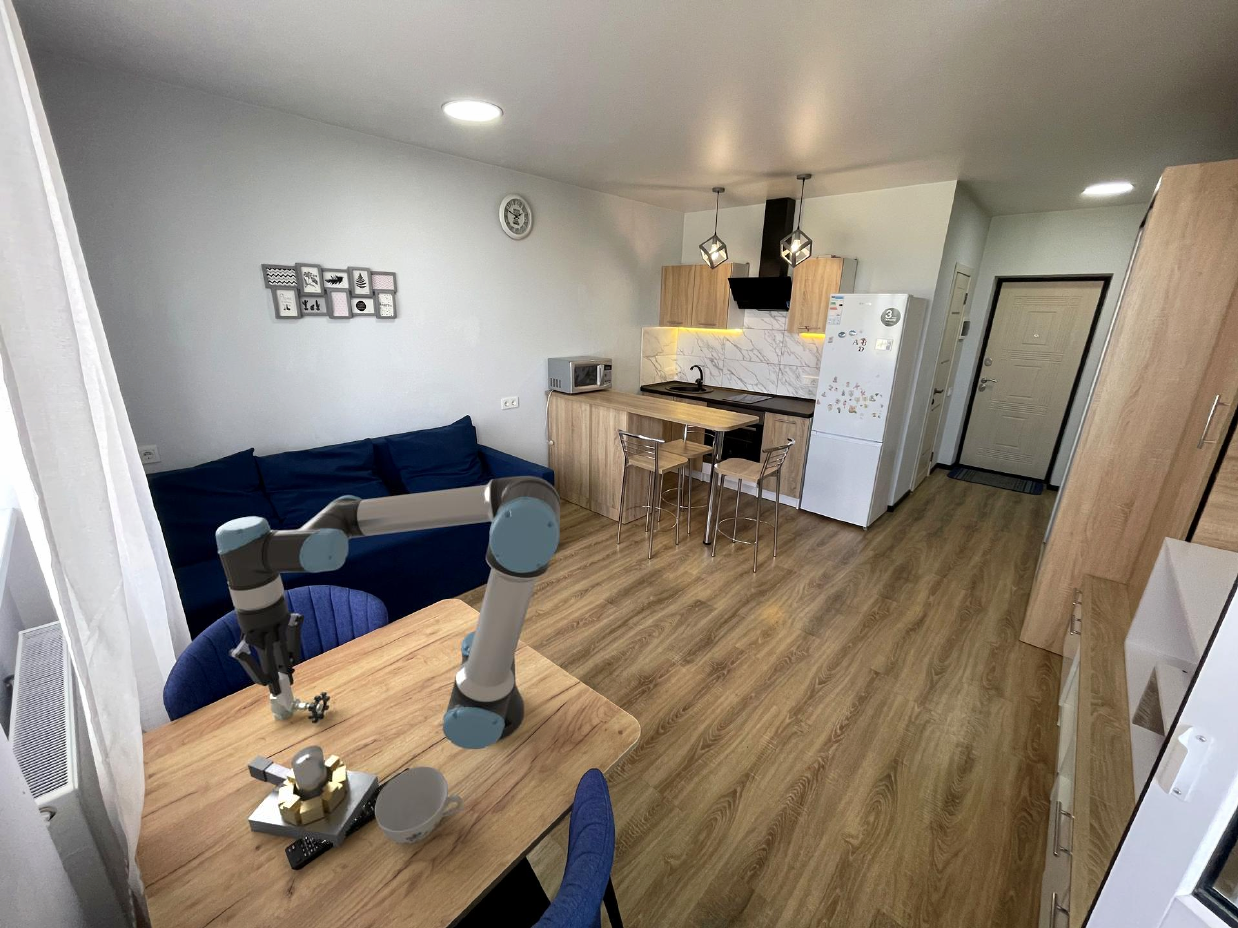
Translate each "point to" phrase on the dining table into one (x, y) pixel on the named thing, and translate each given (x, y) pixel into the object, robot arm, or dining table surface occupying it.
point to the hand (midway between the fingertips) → (286, 702)
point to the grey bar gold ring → (288, 798)
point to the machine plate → (320, 825)
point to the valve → (301, 708)
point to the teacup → (413, 804)
